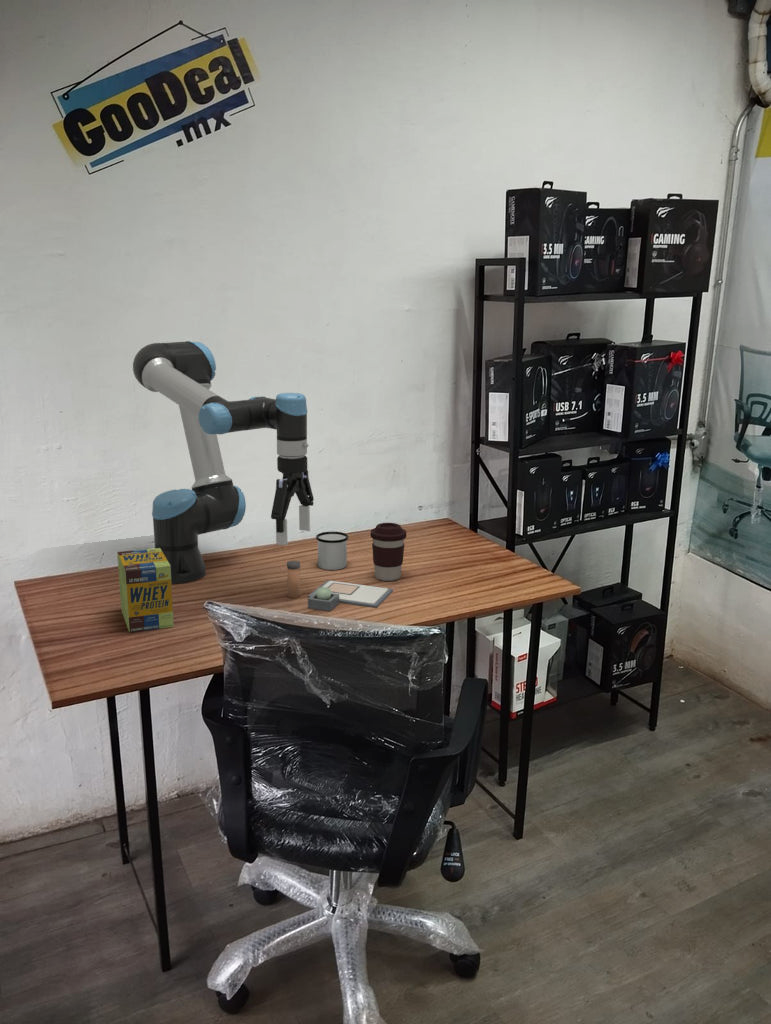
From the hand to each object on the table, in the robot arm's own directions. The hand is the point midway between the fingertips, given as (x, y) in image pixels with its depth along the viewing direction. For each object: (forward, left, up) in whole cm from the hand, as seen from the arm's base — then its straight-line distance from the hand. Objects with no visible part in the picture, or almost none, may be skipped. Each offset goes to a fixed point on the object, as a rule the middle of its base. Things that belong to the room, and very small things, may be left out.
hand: (293, 537), depth 217 cm
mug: (-1, +27, -16) cm, 32 cm away
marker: (0, 0, -16) cm, 16 cm away
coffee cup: (+18, +23, -16) cm, 33 cm away
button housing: (+10, -3, -16) cm, 19 cm away
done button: (+10, -3, -15) cm, 18 cm away
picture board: (+13, +7, -16) cm, 22 cm away
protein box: (-27, -27, -16) cm, 41 cm away
